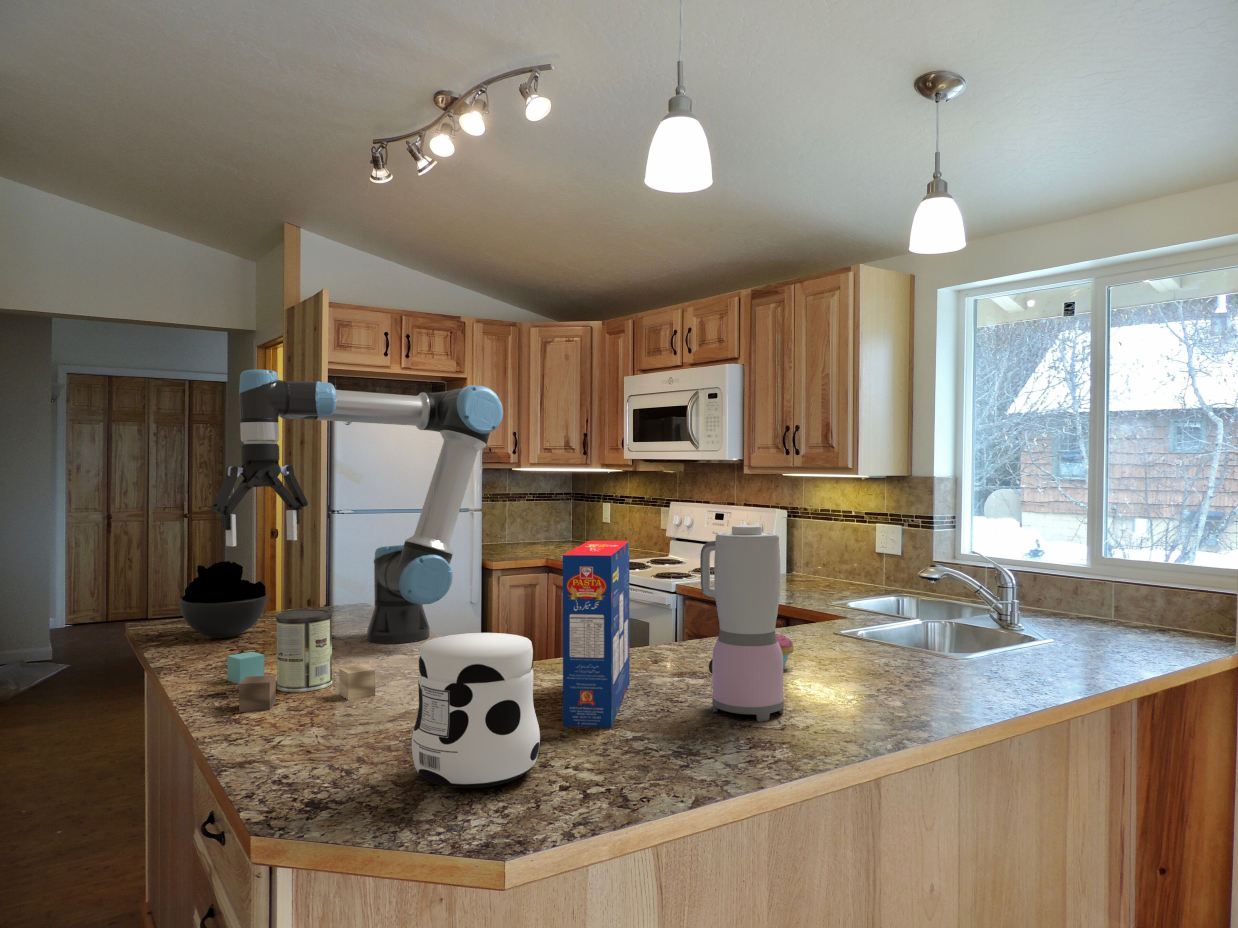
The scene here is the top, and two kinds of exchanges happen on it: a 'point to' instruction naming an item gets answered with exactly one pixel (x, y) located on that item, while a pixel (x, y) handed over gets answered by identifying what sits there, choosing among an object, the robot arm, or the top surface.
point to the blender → (745, 621)
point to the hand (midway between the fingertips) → (262, 543)
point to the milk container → (475, 710)
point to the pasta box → (595, 632)
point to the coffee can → (304, 650)
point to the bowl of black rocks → (222, 601)
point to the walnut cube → (257, 693)
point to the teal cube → (244, 666)
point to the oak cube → (357, 682)
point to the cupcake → (785, 647)
